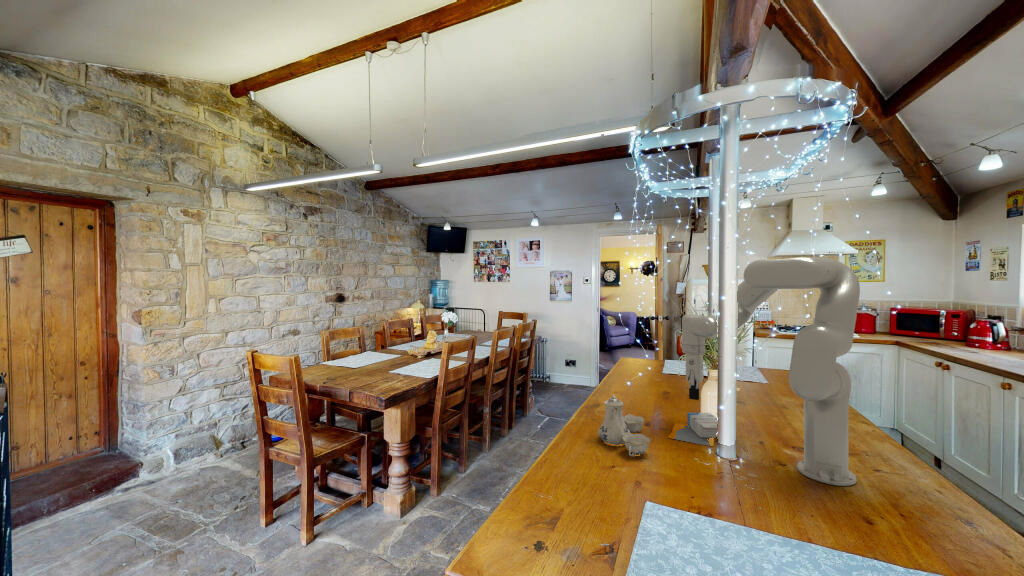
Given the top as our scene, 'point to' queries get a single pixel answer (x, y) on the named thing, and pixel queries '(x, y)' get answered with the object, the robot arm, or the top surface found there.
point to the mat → (690, 436)
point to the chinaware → (622, 428)
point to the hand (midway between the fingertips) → (694, 398)
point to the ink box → (703, 424)
